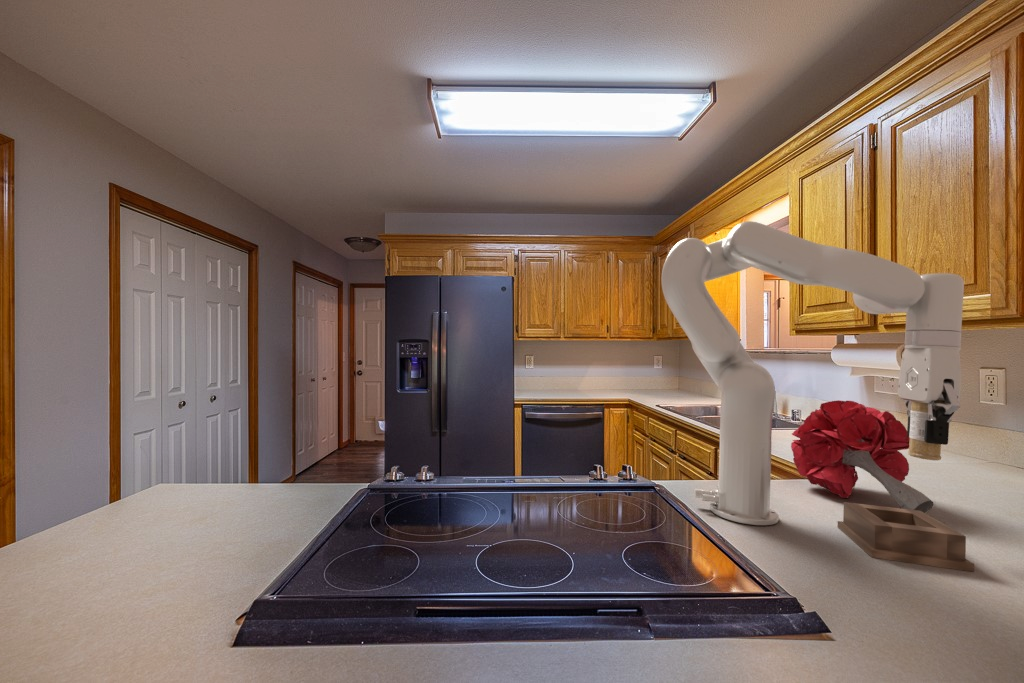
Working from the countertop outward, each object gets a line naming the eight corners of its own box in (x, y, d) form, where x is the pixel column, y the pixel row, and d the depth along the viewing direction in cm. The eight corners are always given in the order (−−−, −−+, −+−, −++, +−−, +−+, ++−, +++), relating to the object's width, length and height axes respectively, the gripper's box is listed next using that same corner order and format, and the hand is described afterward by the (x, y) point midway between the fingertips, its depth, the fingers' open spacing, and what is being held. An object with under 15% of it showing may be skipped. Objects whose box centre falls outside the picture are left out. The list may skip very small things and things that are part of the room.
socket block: (871, 557, 74) (872, 525, 74) (837, 527, 87) (838, 500, 87) (973, 571, 70) (974, 538, 70) (922, 538, 83) (922, 510, 83)
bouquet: (934, 537, 101) (827, 447, 127) (997, 460, 90) (866, 378, 115) (858, 550, 96) (763, 453, 122) (914, 470, 85) (796, 382, 110)
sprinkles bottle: (944, 459, 81) (948, 386, 81) (937, 462, 78) (941, 386, 79) (911, 453, 85) (915, 383, 85) (903, 455, 82) (907, 383, 82)
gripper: (883, 341, 91) (878, 430, 91) (937, 338, 75) (931, 447, 74) (927, 344, 89) (922, 435, 89) (993, 341, 73) (987, 453, 72)
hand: (926, 439), depth 81 cm, fingers closed on sprinkles bottle, 4 cm apart
